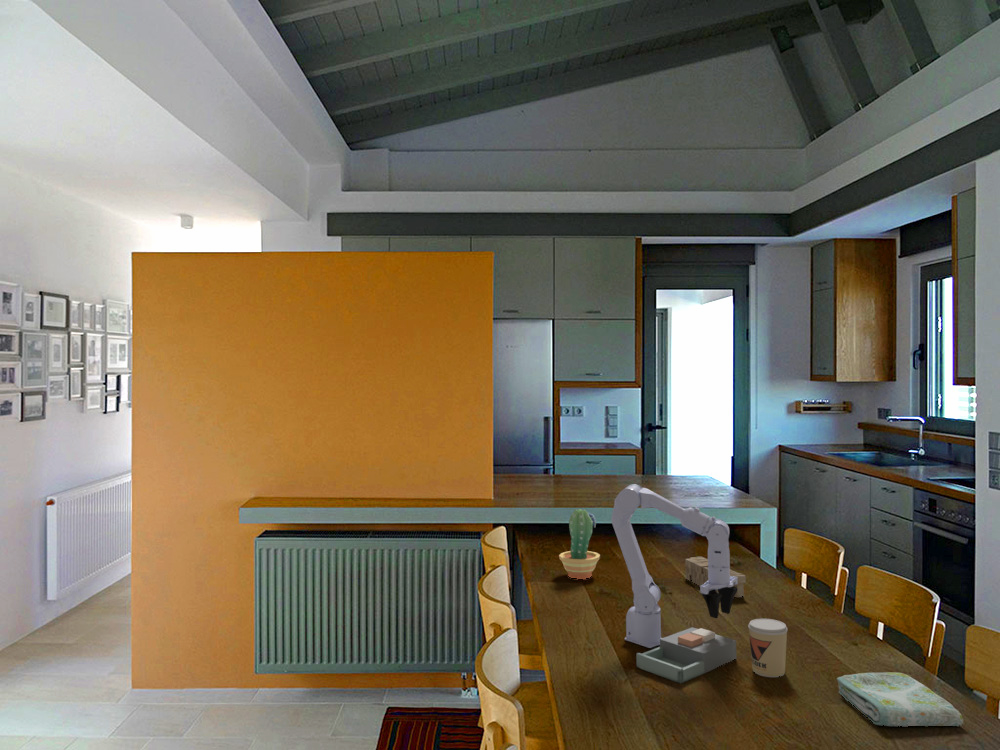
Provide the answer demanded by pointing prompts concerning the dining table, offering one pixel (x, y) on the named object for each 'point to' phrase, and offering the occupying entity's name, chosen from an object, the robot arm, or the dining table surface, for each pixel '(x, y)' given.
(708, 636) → the cream tile
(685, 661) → the grey drawer housing
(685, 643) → the terracotta tile
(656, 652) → the grey-green drawer
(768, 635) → the coffee cup
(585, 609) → the dining table surface
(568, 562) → the potted cactus
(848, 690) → the towel
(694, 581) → the block tower
